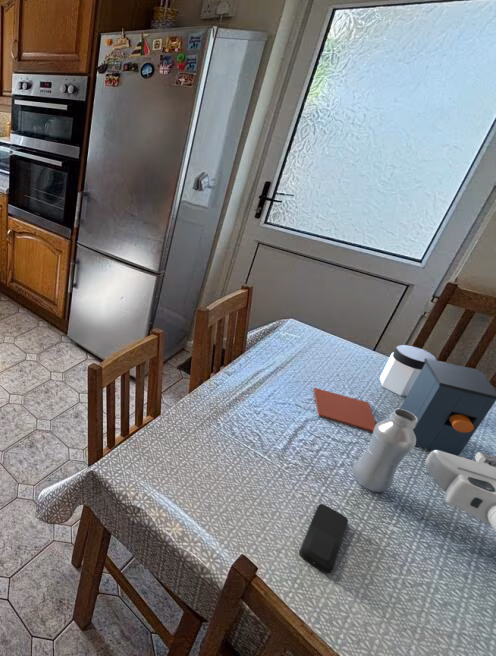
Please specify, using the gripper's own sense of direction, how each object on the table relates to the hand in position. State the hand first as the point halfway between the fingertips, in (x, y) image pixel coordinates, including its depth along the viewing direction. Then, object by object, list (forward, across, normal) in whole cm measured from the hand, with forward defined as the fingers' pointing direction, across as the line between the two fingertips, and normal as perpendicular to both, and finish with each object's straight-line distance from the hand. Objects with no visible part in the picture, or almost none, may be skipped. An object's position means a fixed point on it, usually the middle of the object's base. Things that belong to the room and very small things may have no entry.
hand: (486, 457), depth 84 cm
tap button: (+12, 0, +3) cm, 12 cm away
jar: (+37, +2, +11) cm, 39 cm away
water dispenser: (+17, +2, +11) cm, 21 cm away
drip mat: (+18, +18, +11) cm, 28 cm away
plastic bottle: (-7, +17, +11) cm, 21 cm away
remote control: (-27, +27, +11) cm, 39 cm away
